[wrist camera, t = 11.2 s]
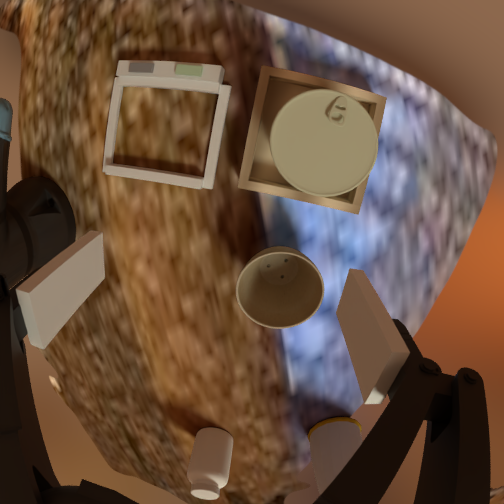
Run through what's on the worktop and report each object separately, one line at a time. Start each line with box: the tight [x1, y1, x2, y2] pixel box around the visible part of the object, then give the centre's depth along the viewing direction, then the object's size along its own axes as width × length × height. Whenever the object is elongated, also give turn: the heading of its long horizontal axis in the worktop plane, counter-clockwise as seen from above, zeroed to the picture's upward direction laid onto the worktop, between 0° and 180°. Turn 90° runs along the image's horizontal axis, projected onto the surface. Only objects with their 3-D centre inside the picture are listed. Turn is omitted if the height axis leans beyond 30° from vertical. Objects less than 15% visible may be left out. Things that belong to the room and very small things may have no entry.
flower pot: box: [236, 246, 324, 329], centre depth 38 cm, size 10×10×7 cm
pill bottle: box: [187, 427, 233, 500], centre depth 51 cm, size 8×8×15 cm
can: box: [269, 89, 378, 197], centre depth 29 cm, size 9×9×12 cm
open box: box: [238, 65, 387, 214], centre depth 33 cm, size 14×14×4 cm
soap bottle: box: [308, 417, 362, 495], centre depth 43 cm, size 11×12×26 cm
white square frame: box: [103, 60, 232, 189], centre depth 34 cm, size 15×15×3 cm
